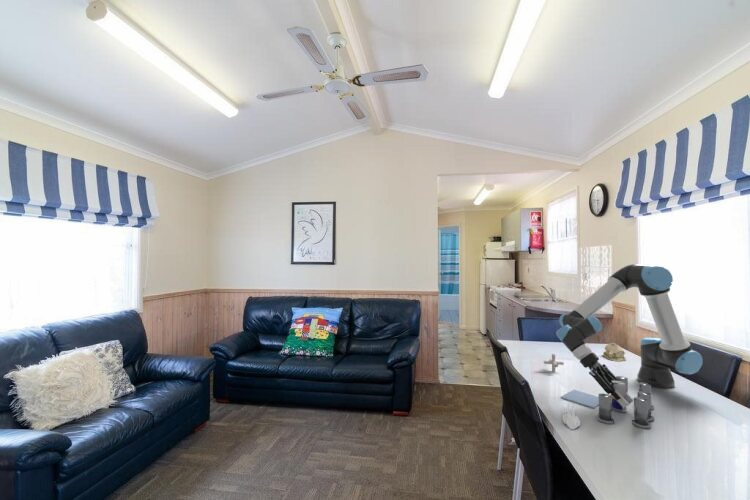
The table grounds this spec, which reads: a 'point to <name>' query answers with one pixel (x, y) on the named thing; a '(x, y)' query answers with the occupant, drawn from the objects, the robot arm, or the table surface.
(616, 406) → the energy drink
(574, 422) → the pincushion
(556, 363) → the pipe connector
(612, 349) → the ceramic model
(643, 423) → the spacer posts
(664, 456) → the table surface
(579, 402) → the mat
